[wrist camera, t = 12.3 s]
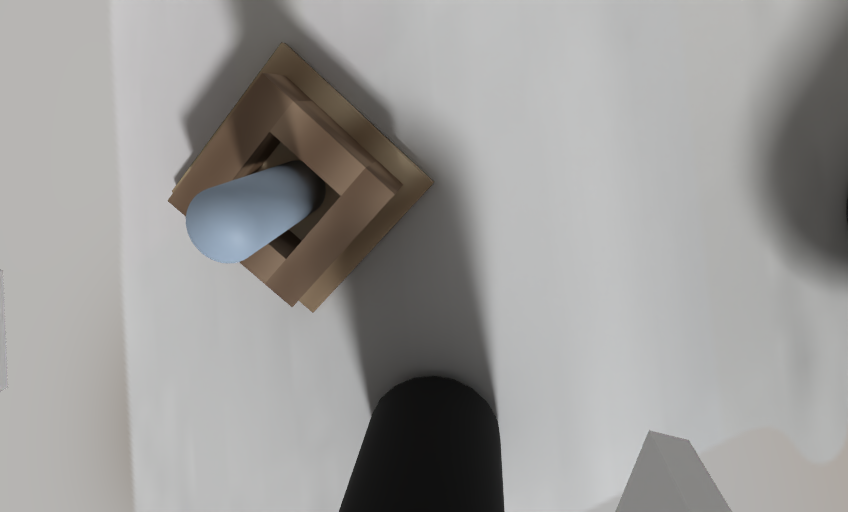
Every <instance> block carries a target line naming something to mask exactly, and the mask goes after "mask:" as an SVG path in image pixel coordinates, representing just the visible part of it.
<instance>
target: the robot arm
mask: <svg viewBox="0 0 848 512" xmlns="http://www.w3.org/2000/svg"><path fill="white" fill-rule="evenodd" d="M847 219H848V201H847ZM4 311H5V309H4V285H3V270H0V392H1V391H2V390H4V389H6V388H7V387H8V382H7V357H6V336H5V335H6V333H5V312H4ZM616 512H732V511H731V509H730V508H729V506H728V504H727V503H726V501H725V499H724V498H723V496H722V494H721V493H720V491H719V490H718V488H717V486H716V484H715V483H714V481H713V479H712V478H711V476H710V474H709V473H708V471H707V470H706V468H705V466H704V465H703V463H702V461H701V460H700V458H699V456H698V455H697V453H696V451H695V450H694V448H693V446H692V445H691V443H690V441H689V440H686V439H682V438H678V437H673V436H669V435H665V434H661V433H657V432H653V431H649V432H648V434H647V437H646V439H645V442H644V444H643V446H642V449H641V451H640V454H639V456H638V458H637V461H636V463H635V466H634V468H633V471H632V473H631V475H630V478H629V480H628V483H627V485H626V487H625V490H624V492H623V495H622V497H621V500H620V502H619V504H618V507H617V509H616Z"/></svg>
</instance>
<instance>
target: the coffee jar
mask: <svg viewBox="0 0 848 512" xmlns="http://www.w3.org/2000/svg"><path fill="white" fill-rule="evenodd" d="M339 512H504V496H503V478H502V461H501V443H500V434H499V427H498V421H497V419H496V417H495V415H494V413H493V411H492V410H491V408H490V406H489V404H488V403H487V402H486V401H485V400H484V399H483V398H482V397H481V396H480V395H479V394H478V393H477V392H475V391H474V390H473V389H472V388H470V387H468V386H466V385H464V384H462V383H460V382H458V381H456V380H453V379H448V378H442V377H437V376H429V377H419V378H413V379H411V380H408V381H406V382H404V383H401V384H399V385H397V386H395V387H394V388H393V389H391V390H390V391H389V392H388V393H387V394H386V395H385V396H383V397H382V398H381V399H380V401H379V403H378V405H377V407H376V409H375V410H374V412H373V414H372V417H371V420H370V423H369V425H368V428H367V431H366V434H365V437H364V440H363V443H362V446H361V449H360V452H359V455H358V458H357V460H356V463H355V466H354V469H353V472H352V475H351V478H350V481H349V484H348V487H347V490H346V492H345V495H344V498H343V501H342V504H341V507H340V510H339Z"/></svg>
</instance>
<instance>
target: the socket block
mask: <svg viewBox="0 0 848 512" xmlns="http://www.w3.org/2000/svg"><path fill="white" fill-rule="evenodd" d="M290 161H303V162H304V163H305V164H306V165H307V166H308V167H309V168H311V169H312V170H313V171H314V172H315V173H316V174H317V175H318V176H319V177H320V178H322V179H323V180H324V182H325V186H326V194H325V198H324V201H323V203H322V204H321V206H320V207H319V208H318V209H317V210H316V211H314V212H313V213H311V214H310V215H308V216H307V217H306V218H304V219H303V220H301V221H300V222H298V223H297V224H295V225H294V226H293V227H291V228H290V229H288V230H287V231H285V232H284V233H283V234H281V235H280V236H278V237H277V238H275V239H274V240H272V241H271V242H270V243H268V244H267V245H265V246H264V247H262V248H261V249H260V250H258V251H257V252H255V253H254V254H252V255H251V256H249V257H248V258H246V259H245V260H243V261H240V263H241V264H242V265H243V266H244V267H246V268H247V269H248V270H249V271H250V272H251V273H253V274H254V275H255V276H256V277H257V278H258V279H260V280H261V281H262V282H263V283H264V284H265V285H267V286H268V287H269V288H270V289H271V290H272V291H274V292H275V293H276V294H277V295H278V296H280V297H281V298H282V299H283V300H284V301H285V302H287V303H288V304H289V305H290V306H291V307H293V306H294V305H295V304H296V303H297V301H298V300H299V301H300V302H301V303H302V304H303V305H304V306H306V307H307V308H308V309H309V310H310V311H311V312H314V311H315V310H316V309H317V308H318V307H319V306H320V305H321V304H322V303H323V302H324V300H325V299H326V298H327V297H328V296H329V295H330V294H331V293H332V292H333V291H334V290H335V289H336V288H337V287H338V285H339V284H340V283H341V282H342V281H343V280H344V279H345V278H346V277H347V276H348V275H349V274H350V273H351V271H352V270H353V269H354V268H355V267H356V266H357V265H358V264H359V263H360V262H361V261H362V260H363V259H364V257H365V256H366V255H367V254H368V253H369V252H370V251H371V250H372V249H373V248H374V247H375V246H376V245H377V243H378V242H379V241H380V240H381V239H382V238H383V237H384V236H385V235H386V234H387V233H388V232H389V231H390V229H391V228H392V227H393V226H394V225H395V224H396V223H397V222H398V221H399V220H400V219H401V218H402V217H403V215H404V214H405V213H406V212H407V211H408V210H409V209H410V208H411V207H412V206H413V205H414V204H415V203H416V202H417V200H418V199H419V198H420V197H421V196H422V195H423V194H424V193H425V192H426V191H427V190H428V189H429V188H430V186H431V185H432V184H433V183H434V181H432V180H431V179H430V178H429V177H428V176H427V175H426V174H425V173H424V172H423V171H422V170H421V169H420V168H419V167H417V166H416V165H415V164H414V163H413V162H412V161H411V160H410V159H409V158H408V157H407V156H406V155H405V154H404V153H402V152H401V151H400V150H399V149H398V148H397V147H396V146H395V145H394V144H393V143H392V142H391V141H390V140H389V139H387V138H386V137H385V136H384V135H383V134H382V133H381V132H380V131H379V130H378V129H377V128H376V127H375V126H374V125H372V124H371V123H370V122H369V121H368V120H367V119H366V118H365V117H364V116H363V115H362V114H361V113H360V112H359V111H357V110H356V109H355V108H354V107H353V106H352V105H351V104H350V103H349V102H348V101H347V100H346V99H345V98H344V97H343V96H341V95H340V94H339V93H338V92H337V91H336V90H335V89H334V88H333V87H332V86H331V85H330V84H329V83H328V82H326V81H325V80H324V79H323V78H322V77H321V76H320V75H319V74H318V73H317V72H316V71H315V70H314V69H313V68H311V67H310V66H309V65H308V64H307V63H306V62H305V61H304V60H303V59H302V58H301V57H300V56H299V55H298V54H296V53H295V52H294V51H293V50H292V49H291V48H290V47H289V46H288V45H287V44H286V43H281V44H280V45H279V47H278V48H277V49H276V51H275V52H274V53H273V55H272V56H271V58H270V59H269V60H268V62H267V63H266V64H265V66H264V67H263V68H262V70H261V71H260V72H259V74H258V75H257V76H256V78H255V79H254V81H253V82H252V83H251V85H250V86H249V87H248V89H247V90H246V91H245V93H244V94H243V95H242V97H241V98H240V100H239V101H238V102H237V104H236V105H235V106H234V108H233V109H232V110H231V112H230V113H229V114H228V116H227V117H226V119H225V120H224V121H223V123H222V124H221V125H220V127H219V128H218V129H217V131H216V132H215V133H214V135H213V136H212V138H211V139H210V140H209V142H208V143H207V144H206V146H205V147H204V148H203V150H202V151H201V152H200V154H199V155H198V157H197V158H196V159H195V161H194V162H193V163H192V165H191V166H190V167H189V169H188V170H187V171H186V173H185V174H184V175H183V177H182V178H181V180H180V181H179V182H178V184H177V185H176V186H175V188H174V189H173V190H172V192H173V194H172V195H171V197H170V198H169V199H168V202H170V203H171V204H172V205H173V206H174V207H175V208H177V209H178V210H179V211H180V212H181V213H182V214H184V215H185V216H186V213H187V209H188V207H189V204H190V203H191V201H192V199H193V198H194V197H195V196H196V195H197V194H199V193H200V192H202V191H203V190H206V189H208V188H211V187H214V186H217V185H220V184H223V183H226V182H229V181H232V180H235V179H238V178H242V177H245V176H248V175H251V174H254V173H257V172H260V171H263V170H266V169H269V168H272V167H275V166H278V165H281V164H284V163H287V162H290Z"/></svg>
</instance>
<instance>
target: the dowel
mask: <svg viewBox="0 0 848 512" xmlns="http://www.w3.org/2000/svg"><path fill="white" fill-rule="evenodd" d="M325 194H326V186H325V182H324V180H323V179H322V178H320V177H319V176H318V175H317V174H316V173H315V172H314V171H313V170H312V169H311V168H309V167H308V166H307V165H306V164H305V163H304V162H303V161H290V162H287V163H284V164H281V165H278V166H275V167H272V168H269V169H266V170H263V171H260V172H257V173H254V174H251V175H248V176H245V177H242V178H238V179H235V180H232V181H229V182H226V183H223V184H220V185H217V186H214V187H211V188H208V189H206V190H203V191H202V192H200V193H199V194H197V195H196V196H195V197H194V198H193V199H192V201H191V203H190V204H189V207H188V209H187V213H186V227H187V231H188V234H189V237H190V239H191V241H192V242H193V244H194V245H195V246H196V248H197V249H198V250H199V251H200V252H201V253H202V254H204V255H205V256H207V257H208V258H210V259H212V260H214V261H217V262H221V263H236V262H240V261H243V260H245V259H246V258H248V257H249V256H251V255H252V254H254V253H255V252H257V251H258V250H260V249H261V248H262V247H264V246H265V245H267V244H268V243H270V242H271V241H272V240H274V239H275V238H277V237H278V236H280V235H281V234H283V233H284V232H285V231H287V230H288V229H290V228H291V227H293V226H294V225H295V224H297V223H298V222H300V221H301V220H303V219H304V218H306V217H307V216H308V215H310V214H311V213H313V212H314V211H316V210H317V209H318V208H319V207H320V206H321V204H322V203H323V201H324V198H325Z"/></svg>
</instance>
